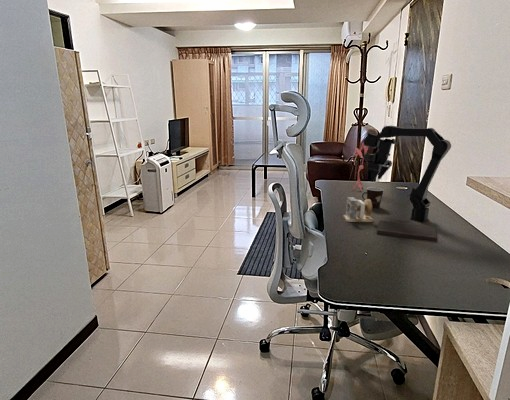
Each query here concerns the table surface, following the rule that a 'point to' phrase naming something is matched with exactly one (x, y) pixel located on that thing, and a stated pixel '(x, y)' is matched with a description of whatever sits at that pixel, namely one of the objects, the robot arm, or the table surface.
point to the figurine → (362, 163)
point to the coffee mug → (374, 196)
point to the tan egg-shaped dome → (367, 207)
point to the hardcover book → (407, 230)
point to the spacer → (361, 209)
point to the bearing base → (366, 219)
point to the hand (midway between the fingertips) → (375, 180)
